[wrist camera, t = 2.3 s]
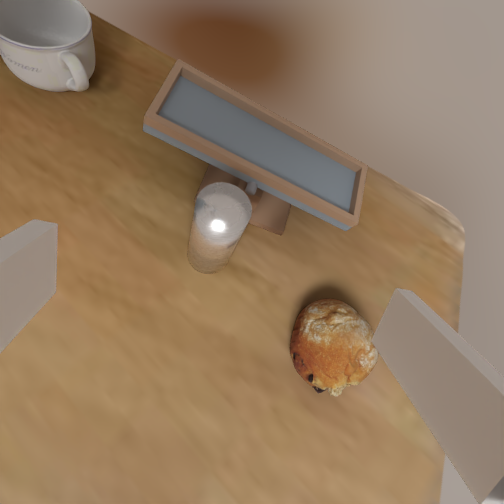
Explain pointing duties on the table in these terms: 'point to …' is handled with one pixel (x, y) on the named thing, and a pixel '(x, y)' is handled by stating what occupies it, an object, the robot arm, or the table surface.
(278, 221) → the fulcrum
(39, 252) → the robot arm
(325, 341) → the bread roll
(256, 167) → the rectangular tray
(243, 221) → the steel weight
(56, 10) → the teacup
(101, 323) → the table surface
